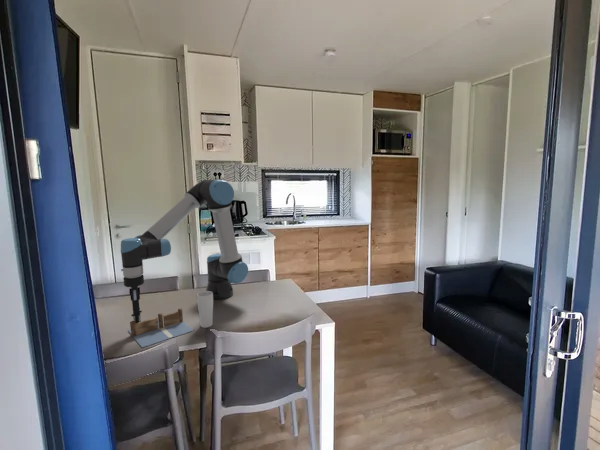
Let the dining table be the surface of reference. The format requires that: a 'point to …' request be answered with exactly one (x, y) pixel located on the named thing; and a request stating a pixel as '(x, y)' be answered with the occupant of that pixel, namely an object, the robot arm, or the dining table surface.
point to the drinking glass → (205, 308)
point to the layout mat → (162, 334)
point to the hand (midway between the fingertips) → (137, 328)
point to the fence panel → (146, 325)
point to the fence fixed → (173, 318)
